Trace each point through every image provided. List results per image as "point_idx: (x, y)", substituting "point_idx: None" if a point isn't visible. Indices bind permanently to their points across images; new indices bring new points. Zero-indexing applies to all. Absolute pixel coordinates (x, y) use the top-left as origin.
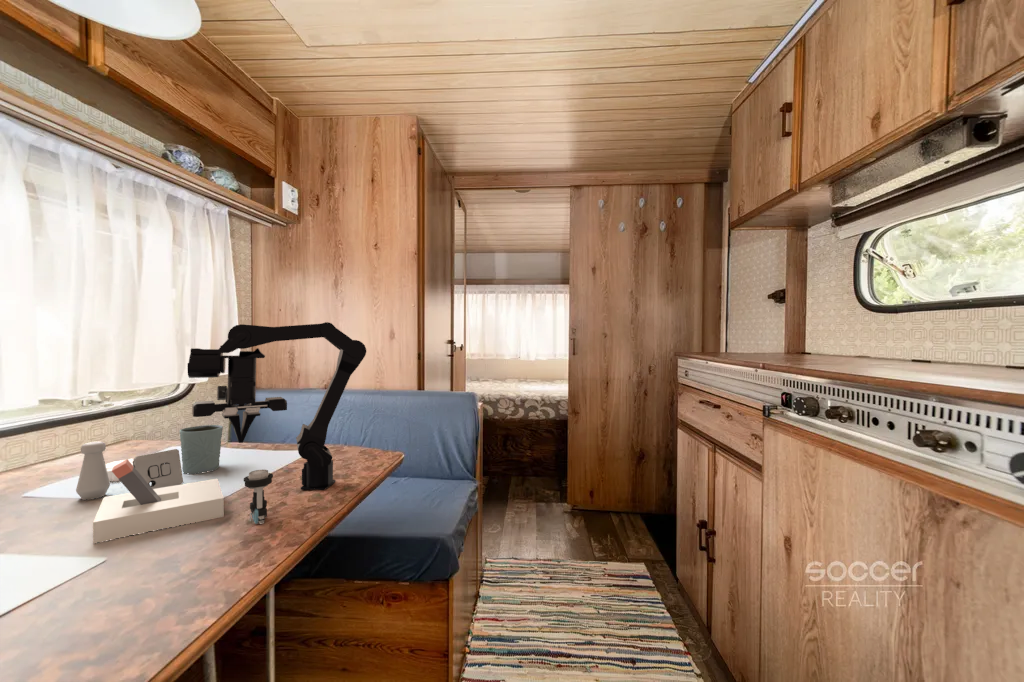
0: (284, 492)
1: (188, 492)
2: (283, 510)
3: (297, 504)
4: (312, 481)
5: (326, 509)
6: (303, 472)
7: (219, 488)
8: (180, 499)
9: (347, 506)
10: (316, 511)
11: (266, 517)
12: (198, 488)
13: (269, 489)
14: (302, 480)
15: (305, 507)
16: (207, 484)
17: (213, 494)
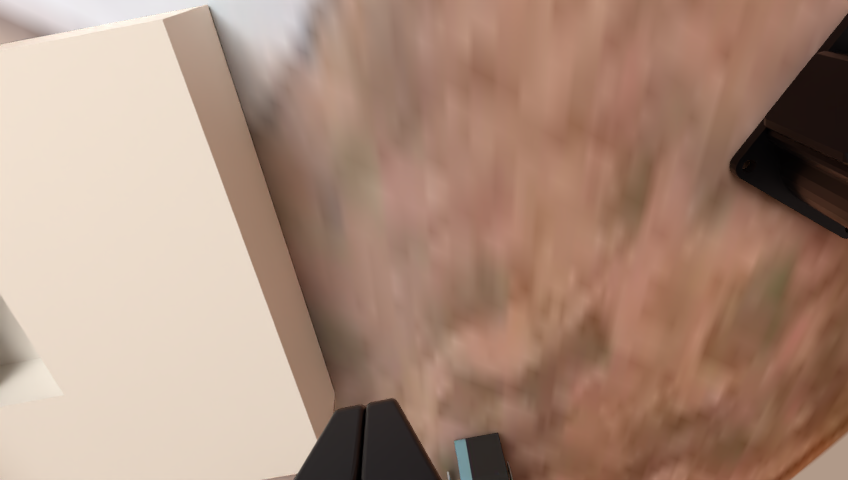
0: (633, 161)
1: (73, 314)
2: (579, 415)
3: (648, 372)
4: (824, 212)
5: (731, 462)
6: (835, 158)
7: (261, 307)
8: (87, 418)
9: (811, 462)
10: (692, 467)
11: (508, 472)
12: (106, 251)
13: (557, 44)
14: (785, 134)
15: (668, 416)
16: (136, 175)
17: (256, 403)
